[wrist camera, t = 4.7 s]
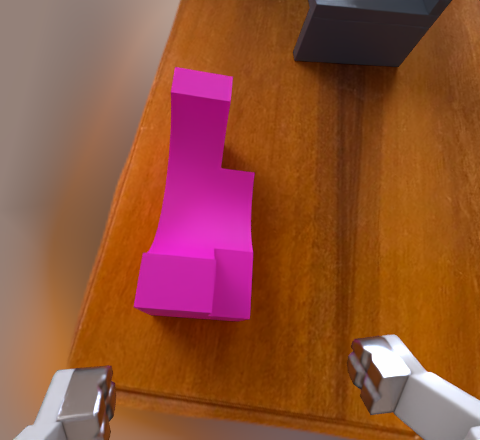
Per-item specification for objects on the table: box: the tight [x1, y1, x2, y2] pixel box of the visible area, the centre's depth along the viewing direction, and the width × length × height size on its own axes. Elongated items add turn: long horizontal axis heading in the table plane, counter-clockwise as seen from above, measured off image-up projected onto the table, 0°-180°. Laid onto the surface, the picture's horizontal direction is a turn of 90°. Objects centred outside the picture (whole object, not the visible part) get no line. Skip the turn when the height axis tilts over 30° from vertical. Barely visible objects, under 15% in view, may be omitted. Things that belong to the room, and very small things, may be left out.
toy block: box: [134, 67, 255, 321], centre depth 22 cm, size 15×6×8 cm, turn 177°
